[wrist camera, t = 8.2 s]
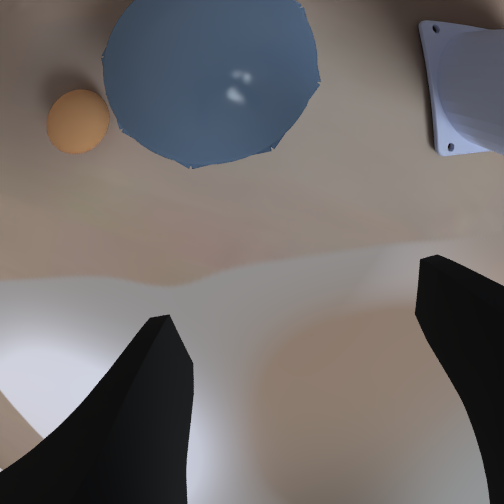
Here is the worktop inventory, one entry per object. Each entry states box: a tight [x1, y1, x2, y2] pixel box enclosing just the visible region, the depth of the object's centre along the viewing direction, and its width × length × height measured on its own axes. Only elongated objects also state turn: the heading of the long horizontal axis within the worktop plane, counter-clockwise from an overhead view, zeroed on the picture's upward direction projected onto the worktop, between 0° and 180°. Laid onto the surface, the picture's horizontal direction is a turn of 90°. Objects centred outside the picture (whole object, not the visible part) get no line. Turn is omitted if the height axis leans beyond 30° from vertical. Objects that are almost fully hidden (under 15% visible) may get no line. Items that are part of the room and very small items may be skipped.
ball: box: [47, 89, 109, 154], centre depth 13 cm, size 3×3×3 cm
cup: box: [101, 0, 321, 169], centre depth 10 cm, size 6×6×7 cm
